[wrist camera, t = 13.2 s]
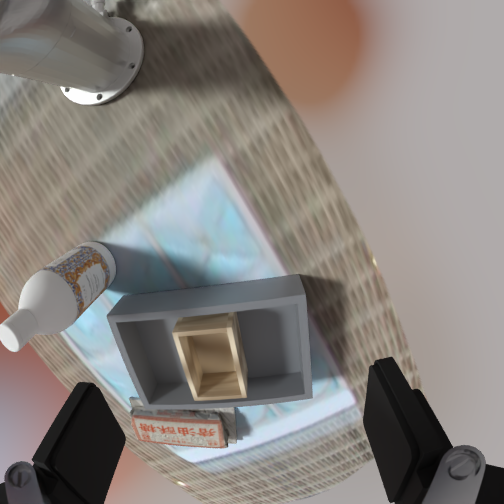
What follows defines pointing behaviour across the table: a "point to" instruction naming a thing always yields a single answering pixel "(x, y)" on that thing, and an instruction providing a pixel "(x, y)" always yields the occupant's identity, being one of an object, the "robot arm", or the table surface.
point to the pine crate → (212, 356)
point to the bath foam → (59, 294)
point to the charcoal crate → (252, 333)
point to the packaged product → (184, 426)
